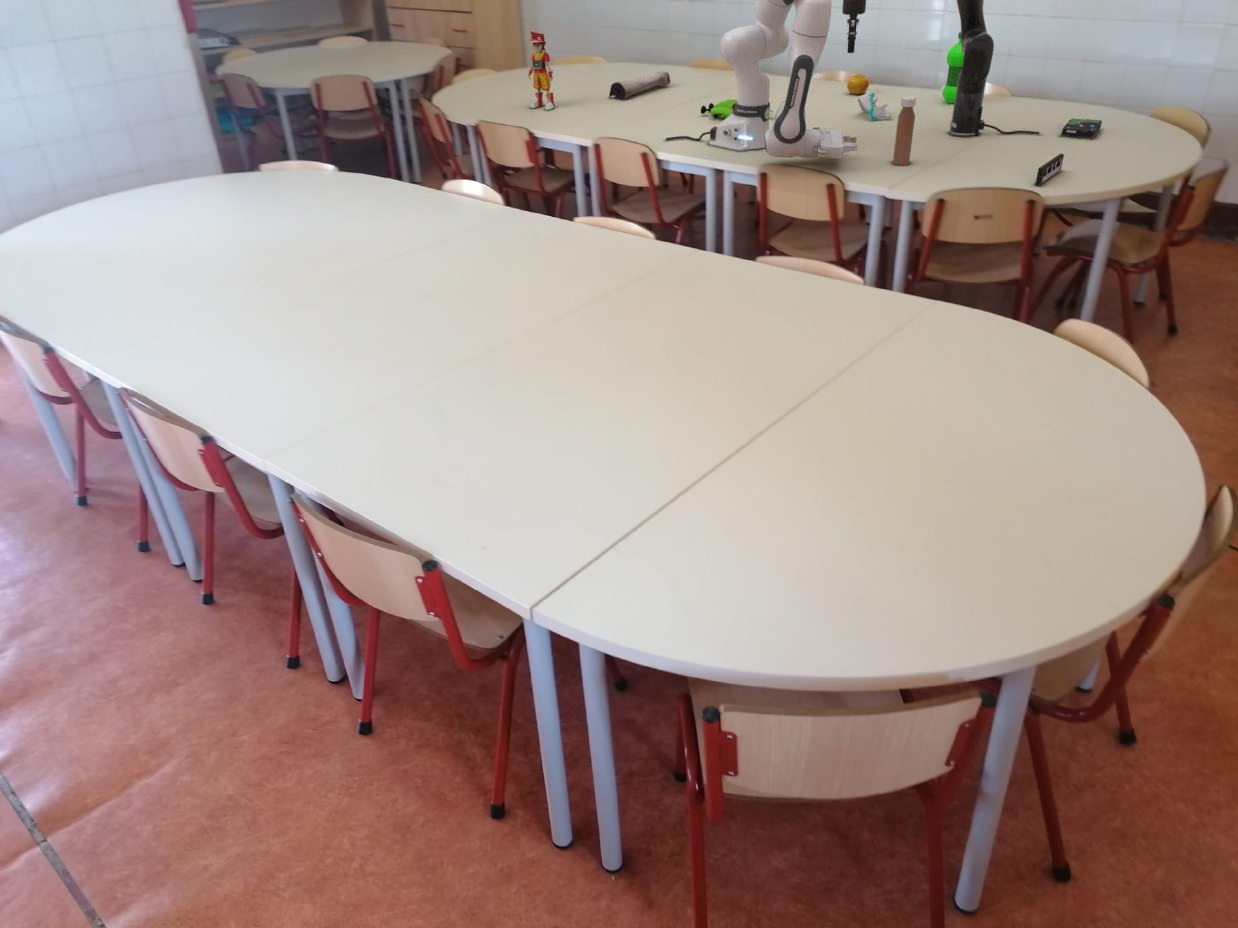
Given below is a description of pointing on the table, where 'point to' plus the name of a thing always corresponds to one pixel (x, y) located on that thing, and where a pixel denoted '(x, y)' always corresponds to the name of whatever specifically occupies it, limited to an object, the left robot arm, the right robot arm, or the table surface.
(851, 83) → the fruit
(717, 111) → the toy
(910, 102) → the cap
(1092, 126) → the disk drive
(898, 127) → the bottle
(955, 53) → the green dumbbell
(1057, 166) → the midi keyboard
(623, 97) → the rolled mat
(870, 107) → the anatomical model
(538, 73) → the toy
